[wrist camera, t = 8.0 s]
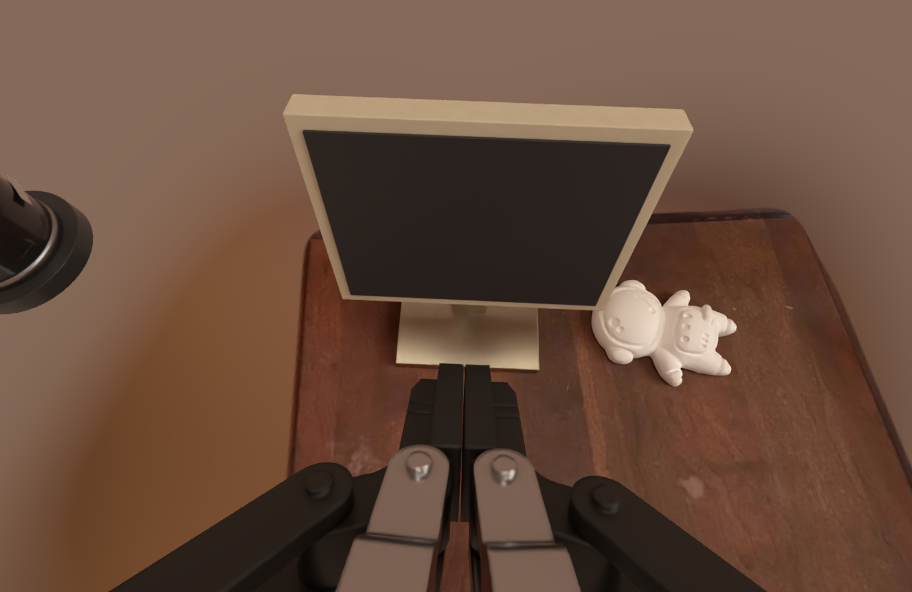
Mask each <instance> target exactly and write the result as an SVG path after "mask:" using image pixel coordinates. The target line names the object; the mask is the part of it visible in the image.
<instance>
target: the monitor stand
mask: <svg viewBox="0 0 912 592" xmlns="http://www.w3.org/2000/svg"><path fill="white" fill-rule="evenodd" d="M395 363H396V365H397V366H398V367H417V368H438V369H439V363H451V364H463V370H465V365H466V364H476V365H490V371H502V372H523V373H537V372H538V371H539V343H538V308H530V307H508V306H486V305H464V304H442V303H419V302H402V303H401V312H400V322H399V332H398V342H397V352H396V362H395Z"/></svg>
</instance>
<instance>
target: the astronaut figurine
mask: <svg viewBox="0 0 912 592" xmlns="http://www.w3.org/2000/svg"><path fill="white" fill-rule="evenodd" d="M689 301H690V296H689V293H688V292H687V291H686V290H681V291H678V292H676V293H675V294H674V295H672V296H671V297H670V298H669V299H668V301H667V302H666V303H665V304H664V305H663V307H662V306H661V304H660V302H659V300H658V299H657V298H656V297H655V296H654V295H653V294H652V293H650V292H648V291H646V289H645V286H644V285H643V284H641V283H640V282H638V281H635V280H628V281H625V282H622V283H621V284H620V286H619V287H615V288H614V290H613V292H612V294H611V296H610V298H609V300H608V302H607V304H606V306H605V308H604V310H603V311H597V310H593V312H592V319H591V325H592V330H593V333H594V336H595V337H596V339H597V341H598V343H599V344H600V345H601V346H602V347H603V348H604V349H605V351H606V354H607V356H608V358H609V359H610V360H611V361H612V362H614V363H617V364H628V363H630V362H631V361H632V360H633V358H640V357H643V356H649V357H651V358H652V360H653V362H654V365H655V367H656V369H657V371H658V373H659V375H660V376H661V377H662V378H663V379H664V380H665V381H666V382H667V383H668V384H670V385H671V386H678V385H680V384H681V382H682V378H681V377H682V371H681V370H680V368H684V369H688V370H691V371H695V372H696V373H703V374H708V375H728V374H729V373H730V372H731V367H730V365H729V364H728V362H727V361H726V360H725V359H723V358H722V357H721V355H719V354H718V353H717V352H716V351H715V348H716V346H717V343H718V337H721V336H726V335H729V334H732V333H734V332H735V331H736V325H735V324H734V322H733V321H732V320H731V319H727V317H726V316H725V315H723V314H721V313H718V312H716V311H713V310H712V309H711V307H710V306H709V305H704V306H703V307H702V308H700V307H697V306H688V303H689Z"/></svg>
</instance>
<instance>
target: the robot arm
mask: <svg viewBox="0 0 912 592" xmlns="http://www.w3.org/2000/svg"><path fill="white" fill-rule="evenodd" d="M6 175H7V174H6ZM7 177H8V178H9V180H10V181H11V183H10V182H9V181H8V180H6V179H5V178H3V177H2V176H0V291H4V290H8V289H11V288H13V287H16V286H18V285H20V284H22V283H24V282H26V281H28V280H29V279H31V278H32V277H34V276H35V275H36V274H38V273H39V272H40V271H41V270H42V269H43V268H44V267H45V266H46V265H47V264H48V263H49V262H50V261H51V259H52V258H53V257H54V255H55V254H56V252H57V250H58V248H59V246H60V243H61V240H62V234H63V228H62V222H61V220H60V217H59V216H58V214H57V213H56V212H55V211H54V210H53V209H52V208H50V207H49V206H47V205H46V204H44V203H43V202H41V201H39V200H38V199H35V198H33V197H32V196H30V195H29V194H27V193H26V192H24V191H23V189H22V188H21V186H20V185H19V183H18V181H16V180H15V179H13V178H11V177H10V176H9V175H7ZM462 409H463V430H462ZM461 451H462V481H461V522H469V548H468V557H469V570H470V583H471V592H767V591H765V590H764V589H763V588H761V587H760V586H759V585H757V584H756V583H754V582H753V581H752V580H750V579H749V578H748V577H746V576H745V575H744V574H742V573H741V572H740V571H738V570H737V569H736V568H734V567H733V566H731V565H730V564H729V563H727V562H726V561H725V560H723V559H722V558H721V557H719V556H718V555H717V554H715V553H714V552H712V551H711V550H710V549H708V548H707V547H706V546H704V545H703V544H702V543H700V542H699V541H698V540H696V539H695V538H694V537H692V536H691V535H689V534H688V533H687V532H685V531H684V530H683V529H681V528H680V527H679V526H677V525H676V524H675V523H673V522H672V521H671V520H669V519H668V518H666V517H665V516H664V515H662V514H661V513H660V512H658V511H657V510H656V509H654V508H653V507H652V506H650V505H649V504H647V503H646V502H645V501H643V500H642V499H641V498H639V497H638V496H637V495H635V494H634V493H633V492H631V491H630V490H629V489H627V488H626V487H624V486H623V485H621V484H620V483H618V482H616V481H614V480H612V479H609V478H606V477H601V476H588V477H584V478H581V479H580V480H578V481H577V482H576V483H575V484H574V485H573V488H572V487H569V486H566V485H563V484H559V483H556V482H553V481H551V480H549V479H547V478H545V477H543V476H541V475H540V474H539V473H538V472H536V471H535V470H534V467H533V465H532V464H531V462H530V461H529V460H528V459H527V456H526V451H525V445H524V439H523V433H522V427H521V422H520V418H519V410H518V404H517V398H516V393H515V392H514V391H513V389H512V388H511V387H510V386H509V385H508V383H504V382H491V375H490V365H476V364H466V365H465V383H464V403H463V364H451V363H439V371H438V380H434V379H420V381H419V382H418V383H417V384H416V385H415V386H414V387H413V388H412V390H411V395H410V400H409V405H408V409H407V414H406V419H405V424H404V429H403V434H402V438H401V443H400V448H399V451H398V452H396V453H395V454H394V455H393V456H392V458H391V459H390V461H389V464H388V466H386V467H385V468H383V469H381V470H379V471H376V472H374V473H370V474H366V475H361V476H356V477H352V475H351V473H350V472H349V470H348V469H347V468H345V467H344V466H342V465H339V464H336V463H329V462H326V463H317V464H314V465H311V466H308V467H306V468H304V469H302V470H301V471H299V472H297V473H296V474H294V475H293V476H291V477H290V478H288V479H286V480H285V481H283V482H282V483H280V484H278V485H277V486H275V487H274V488H272V489H271V490H269V491H267V492H266V493H264V494H263V495H261V496H259V497H258V498H256V499H255V500H253V501H252V502H250V503H248V504H247V505H245V506H244V507H242V508H240V509H239V510H238V511H236V512H234V513H233V514H231V515H230V516H228V517H226V518H225V519H223V520H221V521H220V522H218V523H217V524H215V525H214V526H212V527H210V528H209V529H207V530H206V531H204V532H202V533H201V534H199V535H198V536H196V537H195V538H193V539H191V540H190V541H188V542H187V543H185V544H184V545H182V546H180V547H179V548H177V549H176V550H174V551H172V552H171V553H169V554H168V555H166V556H164V557H163V558H161V559H160V560H158V561H157V562H155V563H153V564H152V565H150V566H149V567H147V568H145V569H144V570H142V571H141V572H139V573H138V574H136V575H134V576H133V577H131V578H130V579H128V580H126V581H125V582H123V583H122V584H120V585H119V586H117V587H115V588H114V589H112V590H111V591H109V592H441V587H442V580H443V572H444V565H445V557H446V546H447V544H448V541H449V536H450V521H454V522H458V511H459V491H460V471H461Z"/></svg>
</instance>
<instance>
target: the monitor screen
mask: <svg viewBox="0 0 912 592" xmlns="http://www.w3.org/2000/svg"><path fill="white" fill-rule="evenodd" d="M283 117H284V120H285V123H286V126H287V129H288V132H289V135H290V138H291V141H292V145H293V148H294V151H295V154H296V157H297V160H298V163H299V166H300V169H301V172H302V175H303V179H304V181H305V185H306V188H307V191H308V194H309V197H310V200H311V203H312V206H313V209H314V213H315V216H316V218H317V222H318V225H319V228H320V231H321V234H322V237H323V240H324V243H325V246H326V250H327V253H328V256H329V259H330V262H331V265H332V268H333V271H334V274H335V277H336V280H337V283H338V287H339V290H340V293H341V296H342V299H353V300H375V301H397V302H419V303H442V304H464V305H486V306H508V307H530V308H552V309H575V310H597V311H603V310H604V308H605V306H606V304H607V302H608V300H609V298H610V296H611V294H612V292H613V290H614V288H615V286H616V284H617V282H618V280H619V278H620V276H621V274H622V272H623V270H624V268H625V266H626V264H627V262H628V260H629V258H630V256H631V254H632V252H633V250H634V248H635V246H636V244H637V242H638V240H639V238H640V236H641V234H642V232H643V230H644V228H645V226H646V224H647V222H648V220H649V218H650V216H651V214H652V212H653V210H654V208H655V206H656V204H657V202H658V200H659V198H660V196H661V194H662V192H663V190H664V188H665V186H666V184H667V182H668V180H669V178H670V176H671V174H672V172H673V170H674V168H675V166H676V164H677V162H678V160H679V158H680V156H681V154H682V152H683V150H684V148H685V146H686V144H687V142H688V140H689V138H690V136H691V134H692V132H693V128H692V126H691V124H690V122H689V120H688V118H687V116H686V114H685V112H684V110H682V109H681V110H680V109H658V108H632V107H631V108H630V107H605V106H581V105H555V104H529V103H502V102H477V101H451V100H425V99H401V98H400V99H399V98H374V97H349V96H323V95H322V96H321V95H298V94H297V95H296V94H293V95H292V96H291V98H290V100H289V102H288V104H287V106H286V108H285V110H284V112H283Z"/></svg>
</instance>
